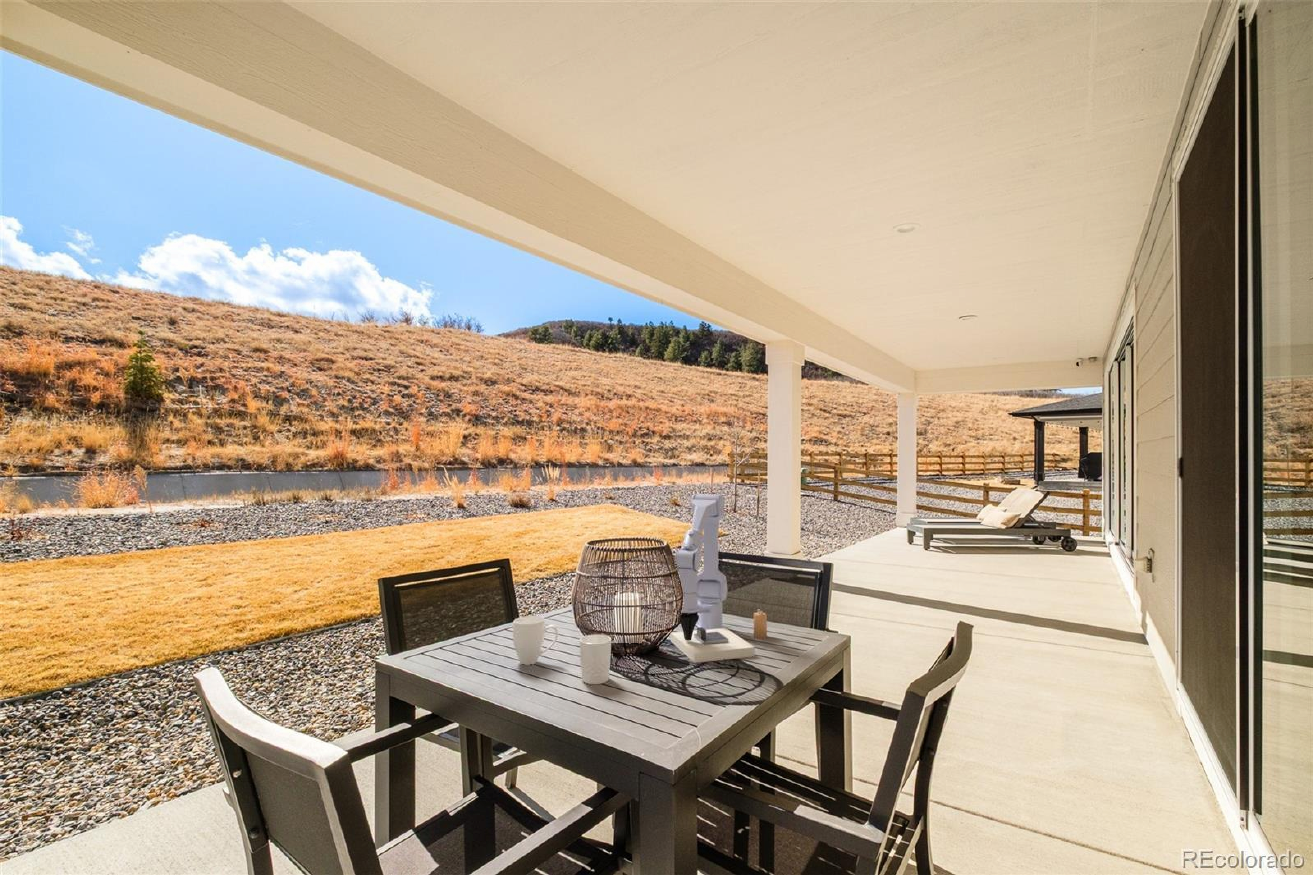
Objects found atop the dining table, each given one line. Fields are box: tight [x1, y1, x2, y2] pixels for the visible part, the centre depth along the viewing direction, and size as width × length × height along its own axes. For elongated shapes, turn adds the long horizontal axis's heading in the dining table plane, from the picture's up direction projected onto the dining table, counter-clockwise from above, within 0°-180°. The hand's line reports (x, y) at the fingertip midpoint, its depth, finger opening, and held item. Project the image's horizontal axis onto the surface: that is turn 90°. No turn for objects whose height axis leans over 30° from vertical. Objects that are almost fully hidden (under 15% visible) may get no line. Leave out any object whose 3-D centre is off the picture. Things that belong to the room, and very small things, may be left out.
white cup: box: [579, 634, 612, 685], centre depth 148 cm, size 8×8×10 cm
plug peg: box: [753, 608, 768, 640], centre depth 184 cm, size 4×4×8 cm
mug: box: [512, 615, 559, 666], centre depth 160 cm, size 12×8×11 cm
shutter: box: [694, 627, 728, 644], centre depth 172 cm, size 8×8×3 cm
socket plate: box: [670, 627, 756, 664], centre depth 172 cm, size 20×18×2 cm
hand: (687, 639), depth 170 cm, fingers closed
